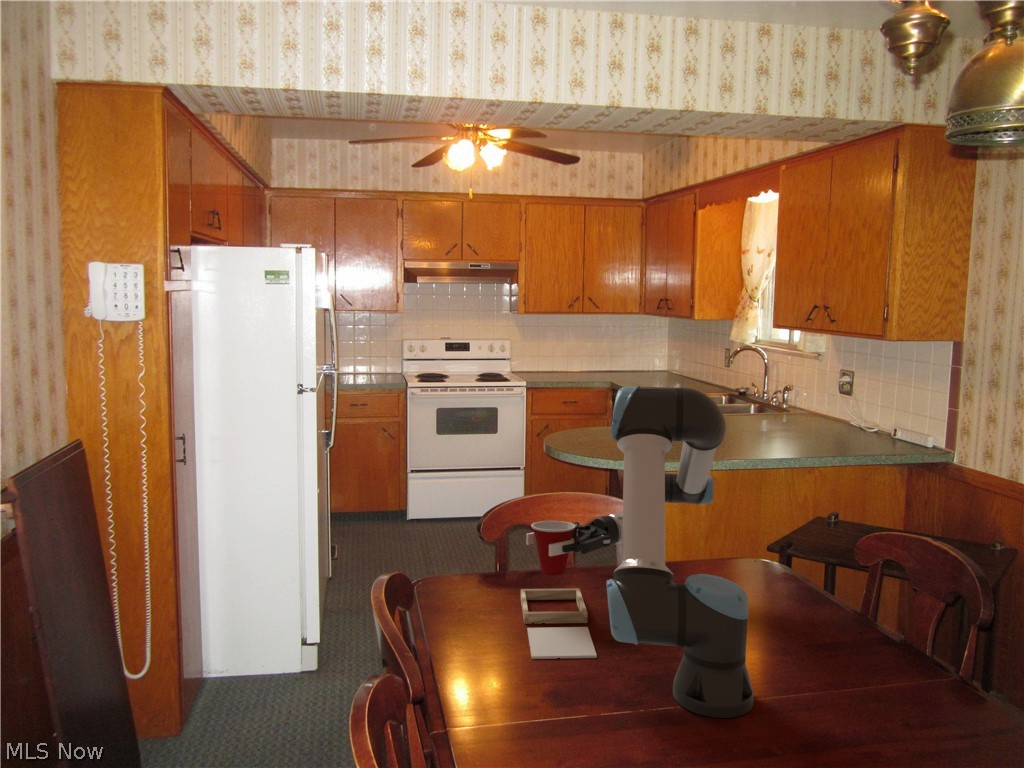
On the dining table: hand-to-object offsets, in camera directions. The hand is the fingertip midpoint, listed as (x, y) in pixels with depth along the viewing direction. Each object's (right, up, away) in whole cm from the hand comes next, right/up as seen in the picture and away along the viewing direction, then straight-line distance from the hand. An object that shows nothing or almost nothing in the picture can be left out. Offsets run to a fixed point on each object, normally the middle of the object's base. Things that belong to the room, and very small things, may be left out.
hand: (538, 544), depth 187 cm
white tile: (+5, -19, -13) cm, 24 cm away
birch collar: (+4, -17, +5) cm, 18 cm away
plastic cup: (+4, -7, +3) cm, 9 cm away
